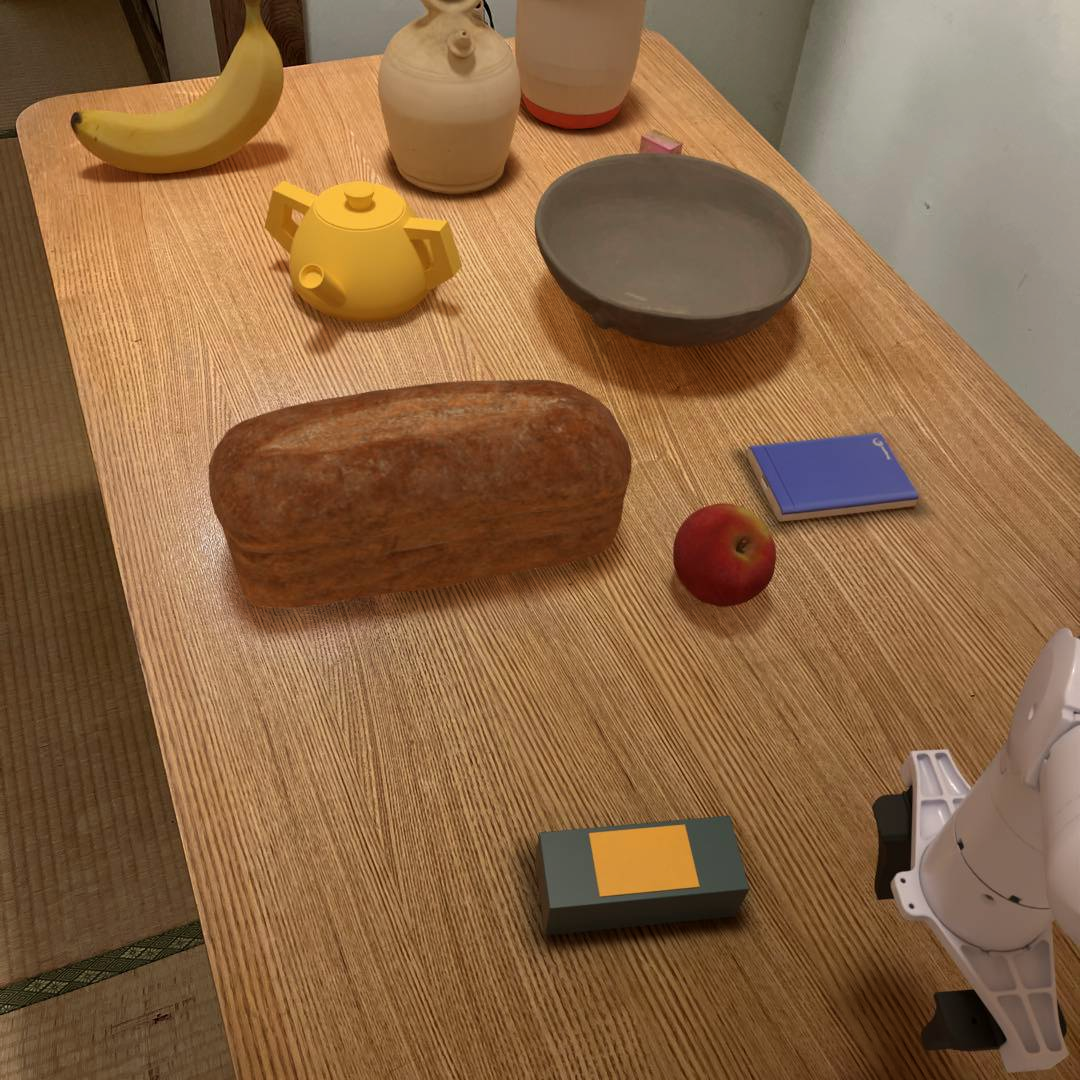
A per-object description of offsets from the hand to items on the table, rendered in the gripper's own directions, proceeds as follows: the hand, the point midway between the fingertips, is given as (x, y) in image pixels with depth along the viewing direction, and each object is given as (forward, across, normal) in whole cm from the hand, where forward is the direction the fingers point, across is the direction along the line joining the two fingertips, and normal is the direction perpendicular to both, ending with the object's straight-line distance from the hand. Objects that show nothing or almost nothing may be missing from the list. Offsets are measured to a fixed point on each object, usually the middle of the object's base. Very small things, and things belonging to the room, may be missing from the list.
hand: (916, 964), depth 56 cm
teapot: (+10, -71, -30) cm, 78 cm away
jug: (+10, -96, -20) cm, 99 cm away
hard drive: (+10, -44, +10) cm, 47 cm away
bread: (+10, -39, -24) cm, 47 cm away
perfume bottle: (+10, -93, +6) cm, 94 cm away
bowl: (+10, -69, 0) cm, 70 cm away
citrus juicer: (+10, -112, -5) cm, 112 cm away
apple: (+10, -33, -2) cm, 34 cm away
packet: (+9, -9, -12) cm, 18 cm away
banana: (+10, -96, -49) cm, 108 cm away
